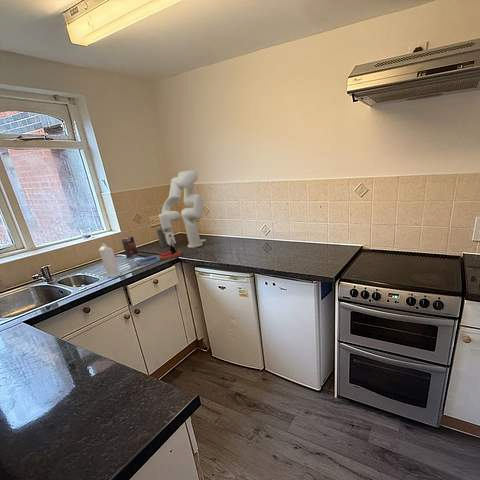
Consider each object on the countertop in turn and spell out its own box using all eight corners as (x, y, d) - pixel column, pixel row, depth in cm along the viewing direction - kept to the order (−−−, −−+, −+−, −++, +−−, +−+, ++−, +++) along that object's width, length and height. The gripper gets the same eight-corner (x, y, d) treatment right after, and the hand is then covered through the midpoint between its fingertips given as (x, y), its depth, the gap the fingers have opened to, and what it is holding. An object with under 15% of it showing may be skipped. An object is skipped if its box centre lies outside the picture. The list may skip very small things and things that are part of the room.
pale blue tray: (157, 257, 230) (156, 255, 229) (160, 260, 221) (159, 258, 220) (136, 262, 223) (135, 260, 222) (139, 266, 214) (138, 263, 213)
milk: (116, 273, 204) (106, 242, 196) (120, 274, 200) (110, 243, 192) (107, 276, 199) (97, 244, 192) (111, 278, 196) (101, 245, 188)
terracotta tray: (177, 252, 237) (177, 250, 237) (181, 255, 228) (181, 252, 228) (158, 257, 230) (157, 254, 230) (161, 260, 221) (160, 258, 221)
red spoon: (176, 251, 233) (176, 249, 233) (178, 252, 230) (177, 250, 229) (161, 255, 228) (160, 253, 227) (162, 256, 225) (162, 254, 224)
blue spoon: (156, 258, 227) (155, 256, 226) (157, 259, 223) (157, 257, 222) (140, 262, 221) (139, 260, 221) (141, 263, 218) (140, 261, 217)
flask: (159, 247, 258) (154, 227, 252) (171, 243, 270) (166, 223, 264) (162, 247, 257) (157, 227, 250) (174, 243, 269) (169, 223, 262)
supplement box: (132, 258, 235) (126, 239, 229) (126, 259, 236) (120, 239, 230) (138, 255, 243) (133, 236, 237) (133, 255, 244) (128, 236, 238)
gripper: (175, 230, 219) (181, 254, 226) (170, 227, 231) (175, 250, 238) (165, 232, 215) (171, 256, 222) (160, 229, 228) (166, 252, 235)
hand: (173, 253), depth 230 cm, fingers closed on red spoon, 1 cm apart
